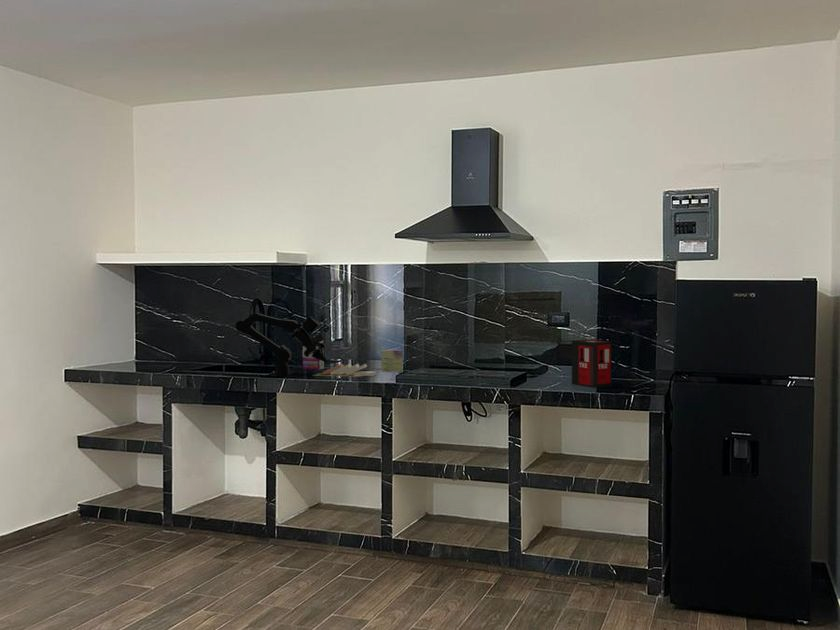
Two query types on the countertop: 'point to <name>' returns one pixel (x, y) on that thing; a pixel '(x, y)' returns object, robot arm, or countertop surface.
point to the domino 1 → (332, 369)
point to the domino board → (333, 374)
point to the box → (391, 360)
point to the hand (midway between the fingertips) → (326, 361)
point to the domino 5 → (364, 373)
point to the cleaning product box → (592, 363)
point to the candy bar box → (312, 361)
